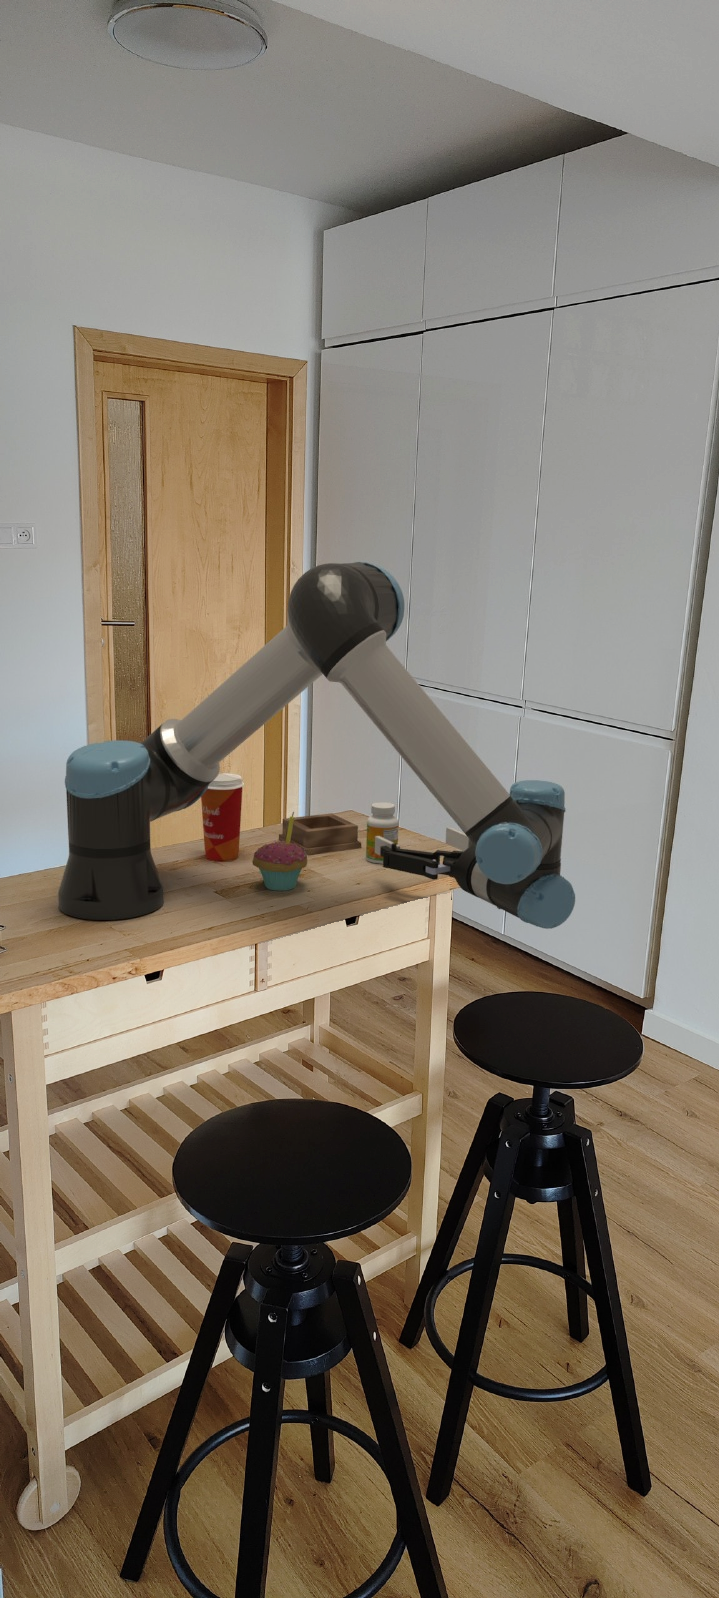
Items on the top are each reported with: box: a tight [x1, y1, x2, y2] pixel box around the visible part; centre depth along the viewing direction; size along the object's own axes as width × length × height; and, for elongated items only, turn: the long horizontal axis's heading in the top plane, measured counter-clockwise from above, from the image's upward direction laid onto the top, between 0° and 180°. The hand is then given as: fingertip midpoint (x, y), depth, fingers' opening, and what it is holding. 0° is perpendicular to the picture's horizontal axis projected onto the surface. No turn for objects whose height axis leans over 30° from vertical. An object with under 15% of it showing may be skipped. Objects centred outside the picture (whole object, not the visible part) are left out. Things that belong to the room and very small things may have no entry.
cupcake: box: [251, 811, 308, 892], centre depth 168 cm, size 9×8×12 cm
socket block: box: [278, 812, 362, 856], centre depth 193 cm, size 11×11×4 cm
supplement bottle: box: [365, 801, 399, 865], centre depth 184 cm, size 5×5×10 cm
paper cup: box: [200, 772, 245, 862], centre depth 182 cm, size 8×8×14 cm
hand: (412, 839), depth 175 cm, fingers open, 13 cm apart
